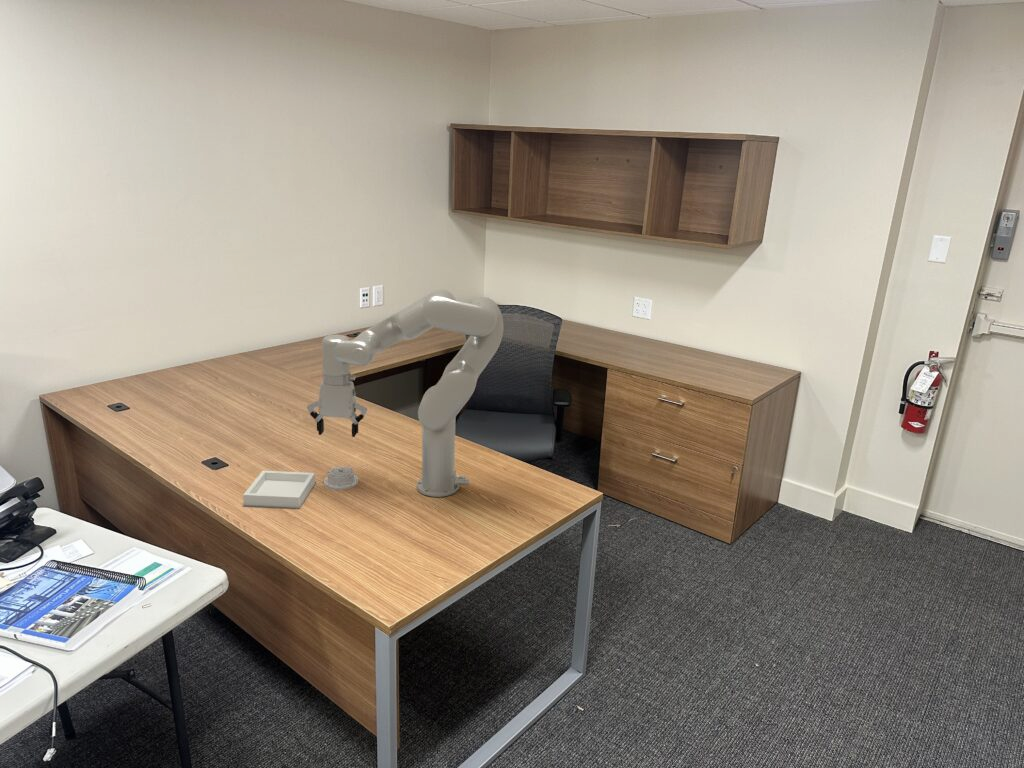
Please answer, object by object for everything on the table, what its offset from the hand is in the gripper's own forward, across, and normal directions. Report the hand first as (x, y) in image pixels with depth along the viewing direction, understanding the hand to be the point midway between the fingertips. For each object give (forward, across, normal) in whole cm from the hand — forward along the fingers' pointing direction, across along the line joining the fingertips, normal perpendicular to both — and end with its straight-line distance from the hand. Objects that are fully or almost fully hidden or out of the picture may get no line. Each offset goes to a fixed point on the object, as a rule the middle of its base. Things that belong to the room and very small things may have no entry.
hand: (337, 434), depth 208 cm
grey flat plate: (+16, +14, +9) cm, 23 cm away
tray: (+16, +14, +9) cm, 23 cm away
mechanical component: (+16, -1, 0) cm, 16 cm away
